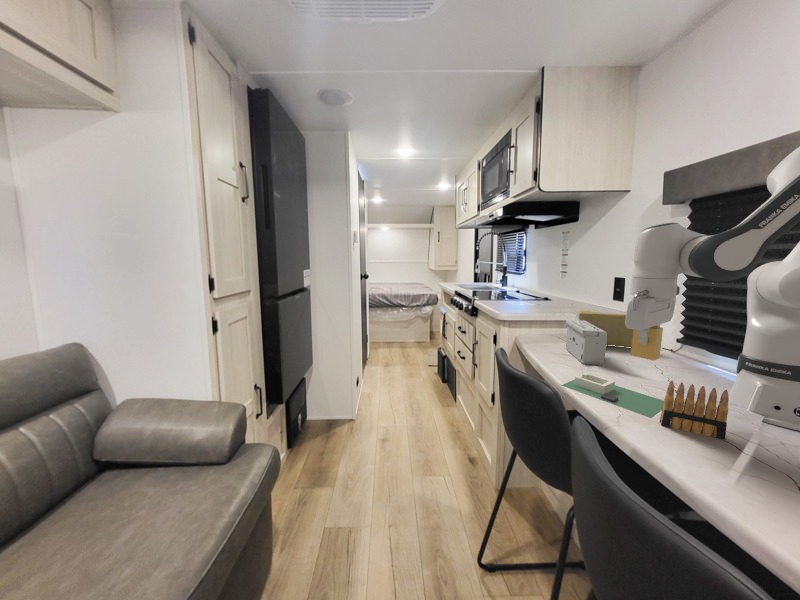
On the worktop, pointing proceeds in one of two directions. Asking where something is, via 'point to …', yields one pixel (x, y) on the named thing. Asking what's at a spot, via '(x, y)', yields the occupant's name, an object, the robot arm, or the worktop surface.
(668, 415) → the ammunition clip
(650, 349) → the yellow rectangular block
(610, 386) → the board
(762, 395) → the robot arm
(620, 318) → the olive rectangular block
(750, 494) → the worktop surface
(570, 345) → the stereo radio cassette player
